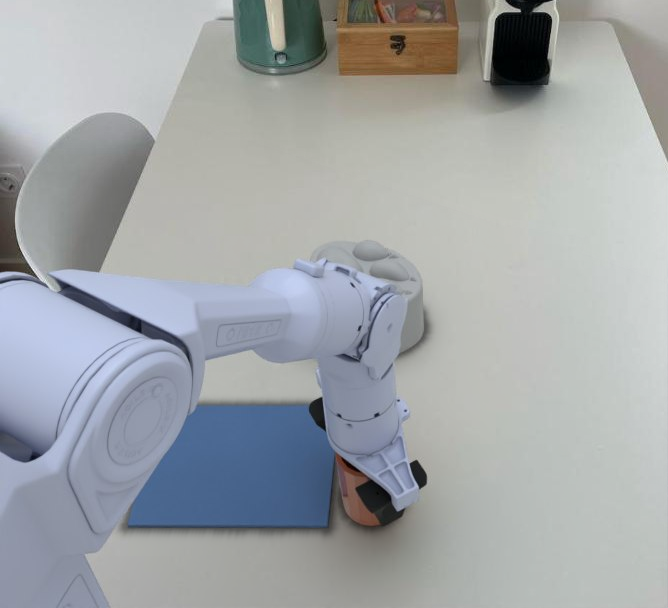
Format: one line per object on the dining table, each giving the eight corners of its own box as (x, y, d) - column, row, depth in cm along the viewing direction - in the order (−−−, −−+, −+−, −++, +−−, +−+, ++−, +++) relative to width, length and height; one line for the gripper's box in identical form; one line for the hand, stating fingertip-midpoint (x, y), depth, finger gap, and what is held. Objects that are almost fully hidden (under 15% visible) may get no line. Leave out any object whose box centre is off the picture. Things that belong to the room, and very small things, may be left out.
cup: (381, 536, 71) (376, 487, 66) (332, 509, 73) (322, 460, 68) (411, 488, 75) (409, 438, 69) (363, 464, 77) (357, 414, 71)
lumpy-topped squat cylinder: (327, 280, 95) (320, 224, 89) (435, 300, 92) (434, 244, 86) (294, 346, 88) (283, 290, 82) (409, 370, 85) (406, 314, 79)
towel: (339, 407, 82) (339, 405, 81) (327, 527, 72) (327, 525, 72) (163, 407, 82) (162, 405, 82) (128, 527, 73) (127, 524, 72)
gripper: (453, 436, 60) (452, 528, 69) (362, 312, 69) (372, 408, 78) (368, 480, 57) (379, 569, 67) (286, 345, 67) (305, 440, 76)
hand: (370, 484), depth 72 cm, fingers open, 7 cm apart
